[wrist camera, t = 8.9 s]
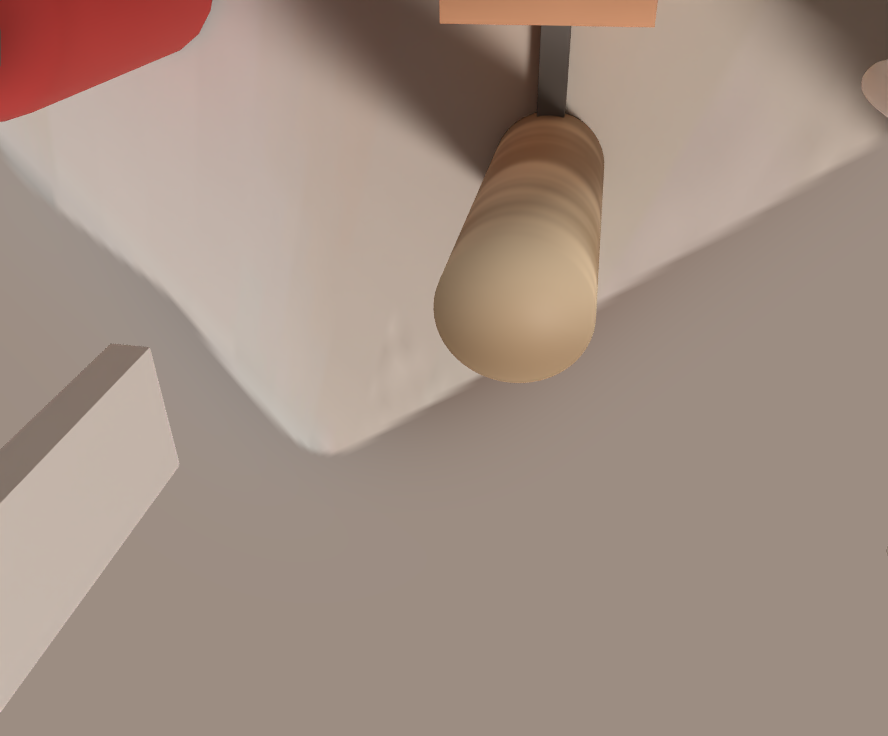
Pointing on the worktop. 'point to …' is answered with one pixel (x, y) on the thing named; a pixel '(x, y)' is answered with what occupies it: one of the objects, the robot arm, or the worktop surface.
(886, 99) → the cup
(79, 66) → the beer can
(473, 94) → the worktop surface
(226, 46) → the worktop surface
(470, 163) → the worktop surface
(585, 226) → the tethered cylinder
